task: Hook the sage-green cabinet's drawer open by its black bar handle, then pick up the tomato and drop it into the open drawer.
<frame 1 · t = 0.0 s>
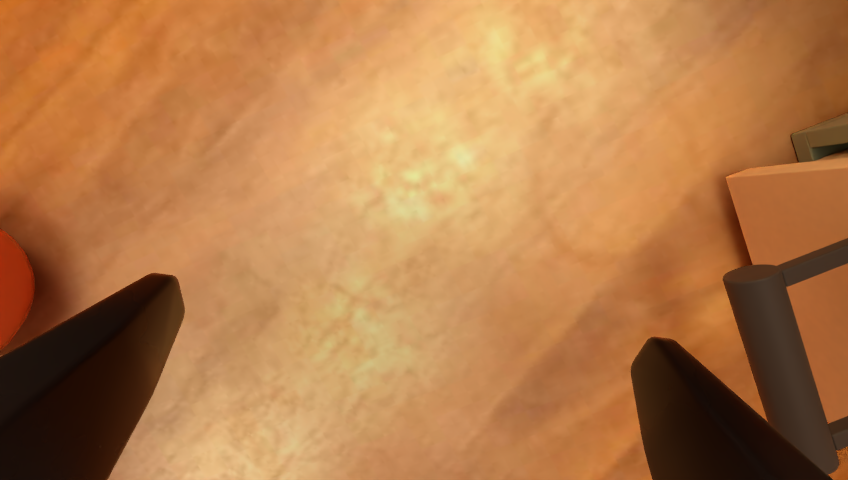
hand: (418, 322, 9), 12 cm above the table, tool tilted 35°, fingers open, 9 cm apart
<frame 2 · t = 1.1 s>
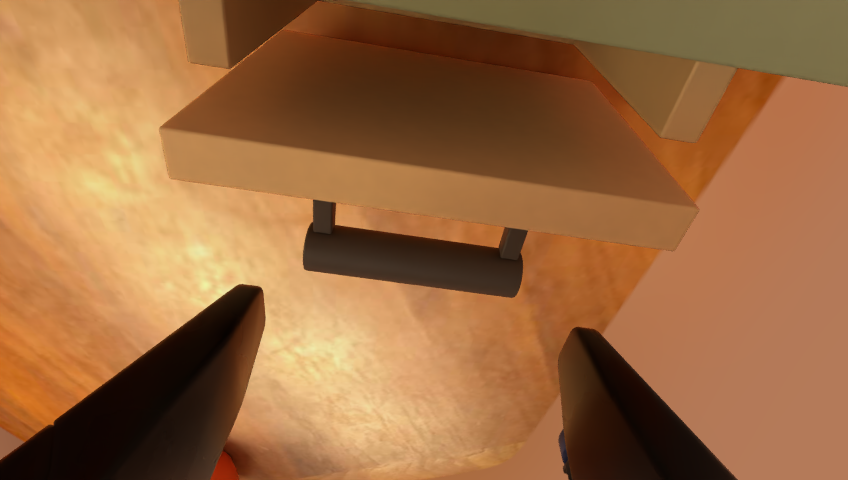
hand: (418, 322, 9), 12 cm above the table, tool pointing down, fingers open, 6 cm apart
tomato: (208, 455, 36), on the table
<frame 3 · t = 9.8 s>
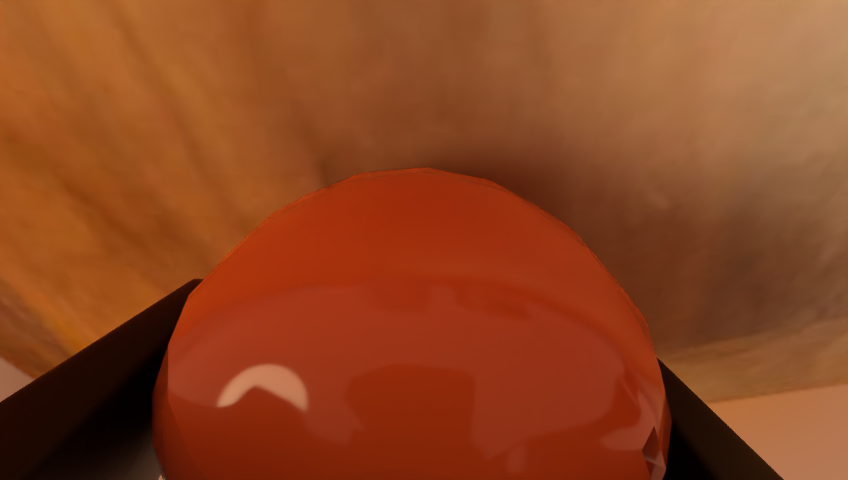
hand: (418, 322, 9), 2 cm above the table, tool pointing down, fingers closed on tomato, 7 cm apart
tomato: (421, 250, 10), on the table, touching gripper
when the fingers open (11 cm above the table, at t = 15.7 s): tomato drops 6 cm, resting on drawer.
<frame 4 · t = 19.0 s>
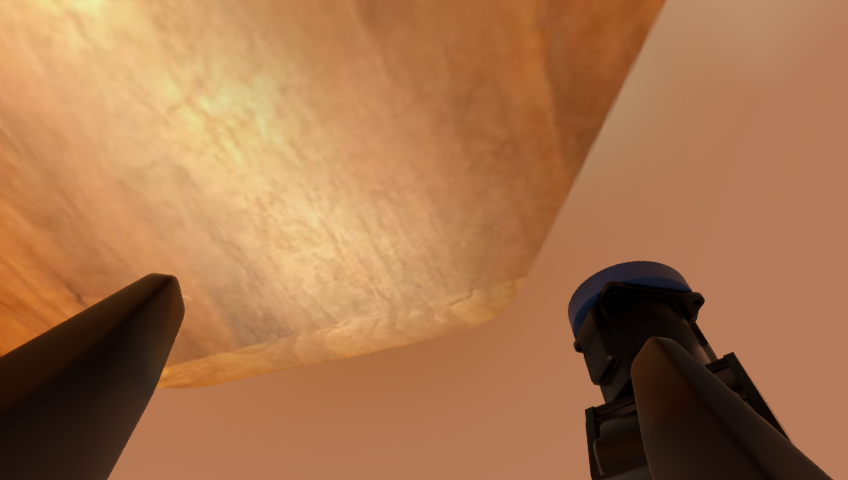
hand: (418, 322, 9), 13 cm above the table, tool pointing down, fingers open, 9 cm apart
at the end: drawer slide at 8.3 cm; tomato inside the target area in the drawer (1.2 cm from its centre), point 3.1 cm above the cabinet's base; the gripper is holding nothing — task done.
